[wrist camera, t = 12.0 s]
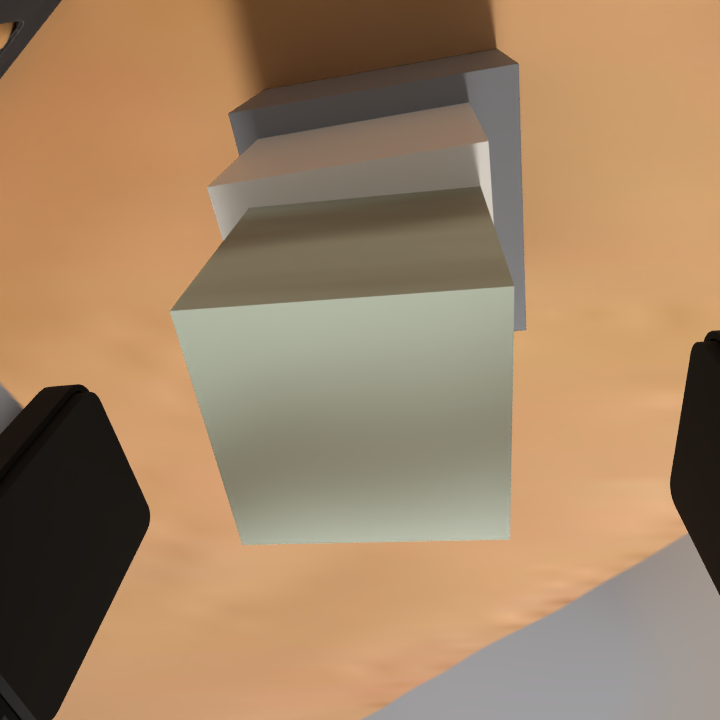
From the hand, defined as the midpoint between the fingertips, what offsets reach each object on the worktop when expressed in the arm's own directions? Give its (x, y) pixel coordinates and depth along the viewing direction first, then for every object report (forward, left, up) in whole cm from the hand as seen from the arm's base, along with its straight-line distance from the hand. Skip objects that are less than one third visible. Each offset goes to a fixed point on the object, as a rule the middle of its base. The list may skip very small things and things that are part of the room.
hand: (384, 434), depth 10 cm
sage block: (0, -1, -5) cm, 5 cm away
